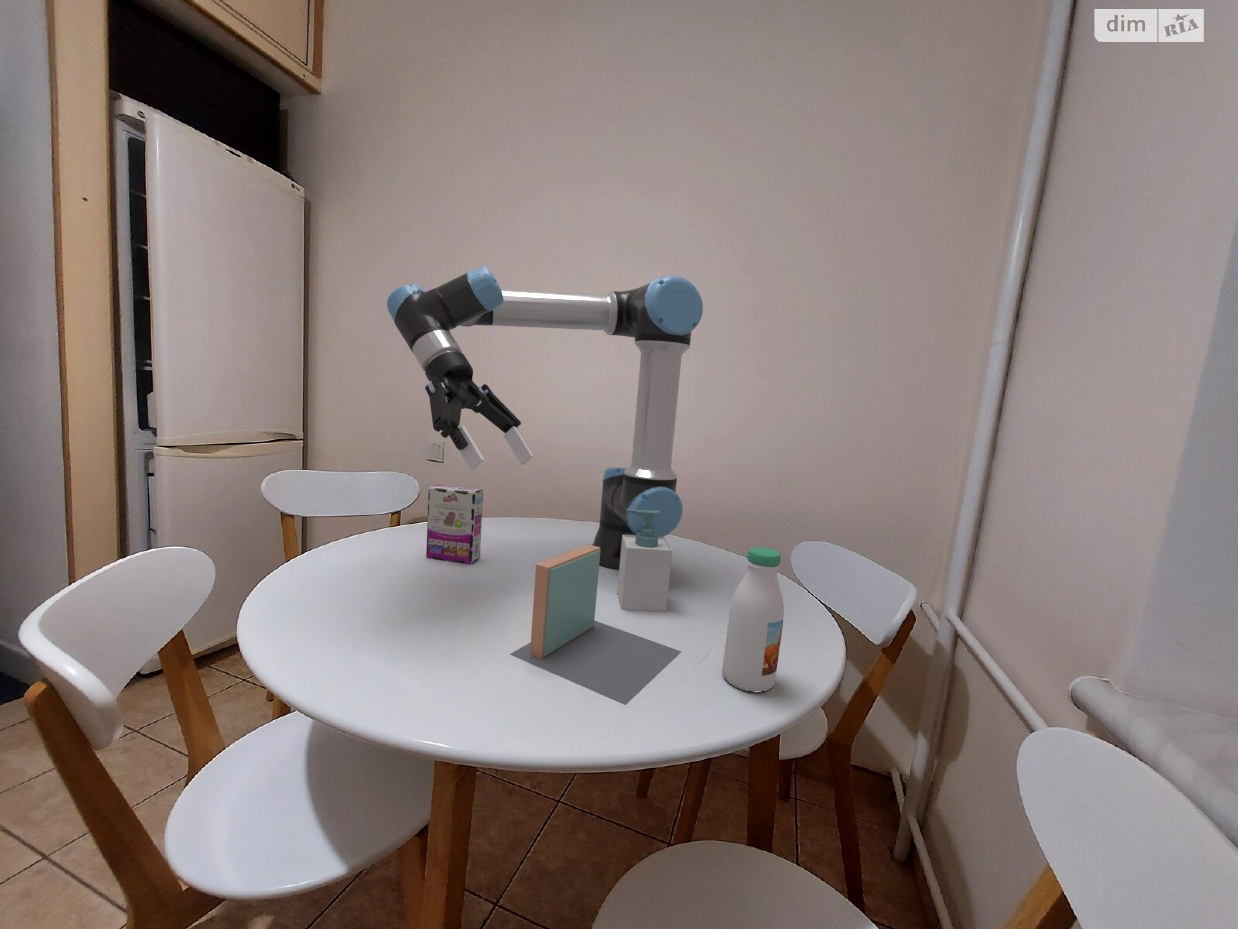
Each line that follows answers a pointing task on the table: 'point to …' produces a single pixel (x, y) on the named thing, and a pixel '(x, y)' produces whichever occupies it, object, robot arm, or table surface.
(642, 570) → the soap bottle
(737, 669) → the milk bottle
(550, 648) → the tile
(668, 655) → the mat
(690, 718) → the table surface
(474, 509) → the candy bar box
